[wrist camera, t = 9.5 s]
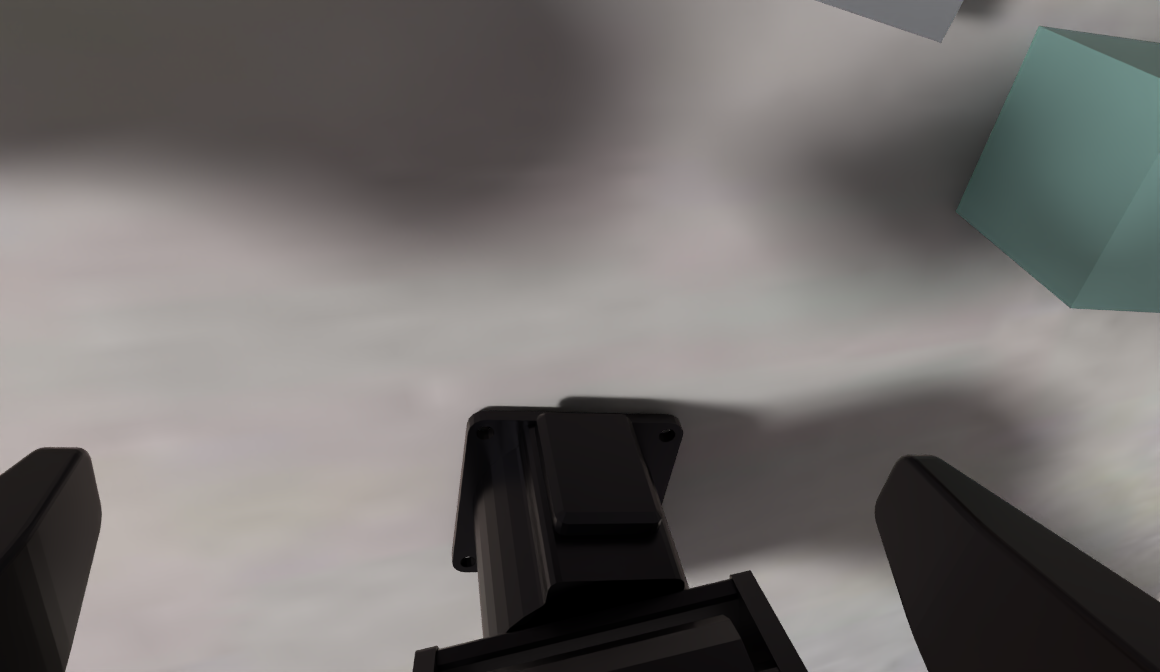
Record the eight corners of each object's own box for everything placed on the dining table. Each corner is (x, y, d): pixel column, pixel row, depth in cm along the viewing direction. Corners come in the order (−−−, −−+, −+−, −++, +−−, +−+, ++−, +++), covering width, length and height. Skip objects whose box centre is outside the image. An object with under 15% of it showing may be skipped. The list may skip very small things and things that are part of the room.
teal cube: (1103, 222, 24) (1243, 317, 20) (954, 210, 23) (1070, 308, 19) (1201, 48, 21) (1386, 117, 17) (1037, 24, 20) (1193, 92, 16)
